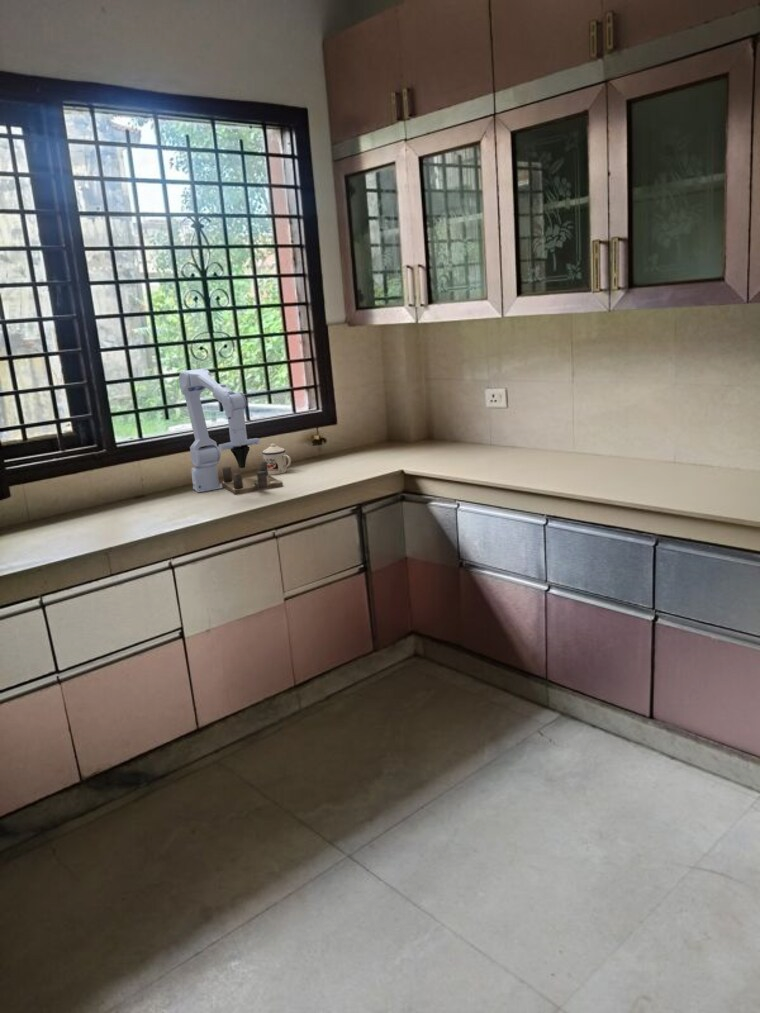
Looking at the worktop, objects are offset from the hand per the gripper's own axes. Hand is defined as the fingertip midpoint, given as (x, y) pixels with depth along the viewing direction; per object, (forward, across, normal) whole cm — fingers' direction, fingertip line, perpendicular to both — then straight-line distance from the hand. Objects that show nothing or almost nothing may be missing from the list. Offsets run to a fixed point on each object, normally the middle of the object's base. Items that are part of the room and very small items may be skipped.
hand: (242, 467), depth 271 cm
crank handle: (+8, +7, +2) cm, 11 cm away
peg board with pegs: (+10, +9, +13) cm, 19 cm away
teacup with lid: (+11, +28, +26) cm, 39 cm away
